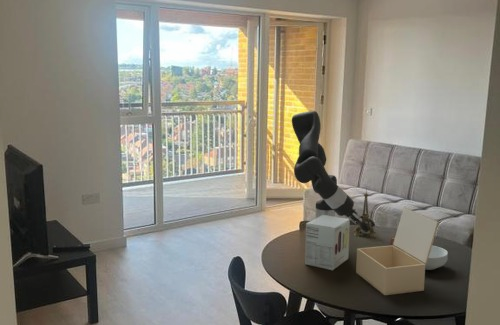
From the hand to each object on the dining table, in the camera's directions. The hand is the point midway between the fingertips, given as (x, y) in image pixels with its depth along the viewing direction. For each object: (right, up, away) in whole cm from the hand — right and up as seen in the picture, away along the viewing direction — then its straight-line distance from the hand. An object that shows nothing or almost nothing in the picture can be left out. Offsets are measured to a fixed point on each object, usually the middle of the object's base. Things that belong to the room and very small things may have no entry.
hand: (367, 230), depth 178 cm
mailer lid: (+19, -2, +5) cm, 20 cm away
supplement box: (-11, -17, +27) cm, 33 cm away
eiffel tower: (+15, -11, +66) cm, 68 cm away
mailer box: (+9, -20, +6) cm, 23 cm away
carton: (+29, -15, +41) cm, 53 cm away
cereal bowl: (+29, -18, +21) cm, 40 cm away
